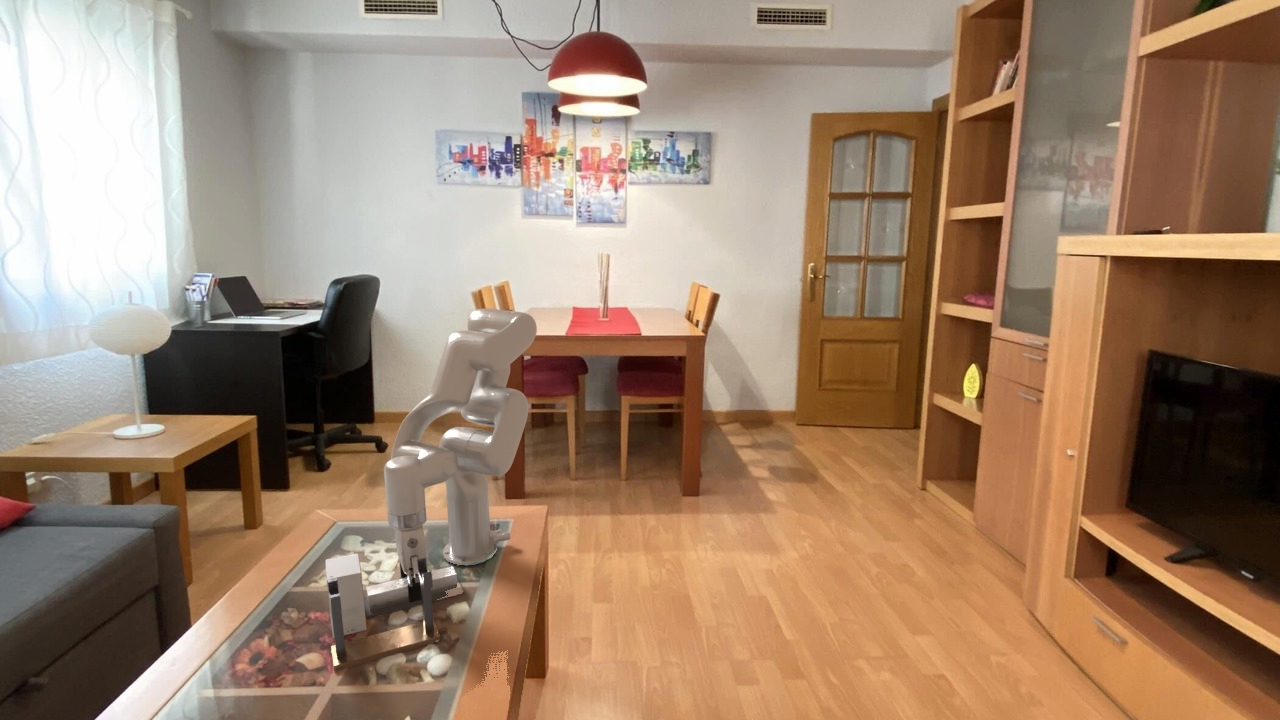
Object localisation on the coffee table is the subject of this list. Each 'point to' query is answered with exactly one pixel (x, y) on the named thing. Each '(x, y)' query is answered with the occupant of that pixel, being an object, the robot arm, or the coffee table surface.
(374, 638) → the rack
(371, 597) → the rail
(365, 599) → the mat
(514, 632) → the coffee table surface
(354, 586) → the small box
